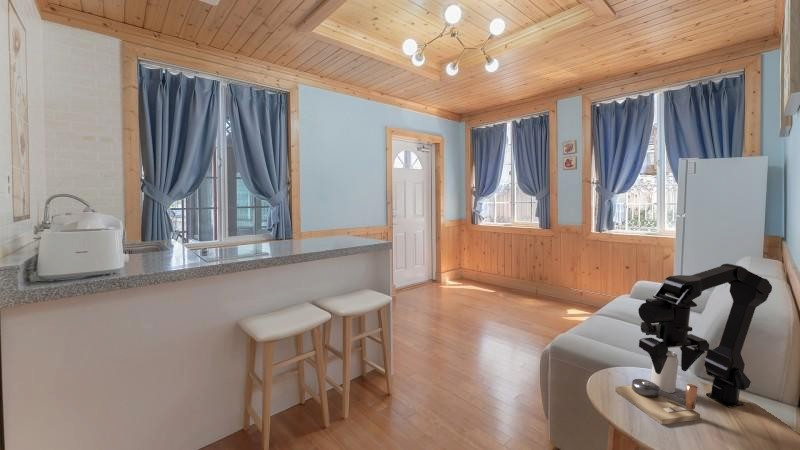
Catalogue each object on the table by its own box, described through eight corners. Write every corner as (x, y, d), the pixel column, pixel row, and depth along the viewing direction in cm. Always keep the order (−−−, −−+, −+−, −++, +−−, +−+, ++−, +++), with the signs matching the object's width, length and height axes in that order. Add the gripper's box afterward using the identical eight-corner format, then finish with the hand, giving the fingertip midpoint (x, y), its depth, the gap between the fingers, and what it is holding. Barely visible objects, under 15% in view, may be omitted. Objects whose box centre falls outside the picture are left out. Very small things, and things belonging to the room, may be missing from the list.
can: (679, 395, 111) (683, 358, 110) (656, 392, 113) (660, 356, 111) (668, 383, 118) (672, 349, 116) (646, 381, 119) (650, 347, 118)
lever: (628, 389, 111) (630, 368, 110) (637, 382, 115) (639, 361, 114) (690, 416, 98) (693, 392, 97) (698, 407, 102) (701, 384, 102)
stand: (649, 387, 115) (649, 382, 115) (699, 419, 100) (700, 413, 100) (615, 391, 113) (615, 386, 112) (661, 424, 97) (662, 418, 97)
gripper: (676, 309, 112) (671, 356, 114) (625, 312, 108) (621, 361, 110) (713, 322, 101) (707, 374, 103) (658, 327, 97) (653, 380, 99)
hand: (670, 372), depth 104 cm, fingers open, 9 cm apart
